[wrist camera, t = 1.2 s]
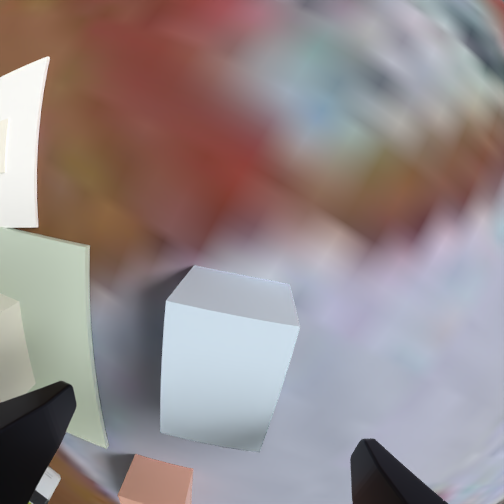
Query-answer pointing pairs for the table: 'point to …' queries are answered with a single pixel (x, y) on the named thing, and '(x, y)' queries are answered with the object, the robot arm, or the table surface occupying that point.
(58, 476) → the tea box
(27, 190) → the page
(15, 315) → the brick cream
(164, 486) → the brick rust
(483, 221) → the table surface
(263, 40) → the table surface
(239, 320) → the brick blue
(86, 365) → the baseplate
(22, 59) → the table surface
